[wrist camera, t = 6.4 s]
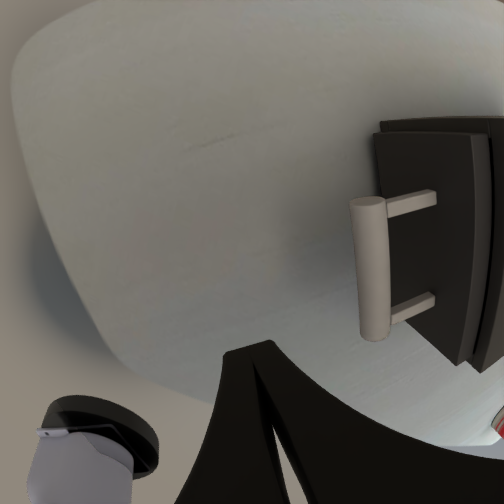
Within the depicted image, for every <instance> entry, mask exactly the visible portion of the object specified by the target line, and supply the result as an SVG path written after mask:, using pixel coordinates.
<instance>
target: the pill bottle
mask: <svg viewBox="0 0 504 504" xmlns="http://www.w3.org/2000/svg"><path fill="white" fill-rule="evenodd" d="M492 427H493V428H494V429H495V431H496V432H497V433H498V434H499V435H500V436H501V437H502V438H503V439H504V407H503V408H502V410H501V411H500V412H499V413H498V414H497V416H496V417H495V419H494V421H493V423H492Z"/></svg>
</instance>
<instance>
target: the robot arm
mask: <svg viewBox="0 0 504 504" xmlns="http://www.w3.org/2000/svg"><path fill="white" fill-rule="evenodd" d="M272 425H273V426H272ZM273 428H274V430H275V432H276V434H277V436H278V439H279V441H280V443H281V445H282V447H283V449H284V451H285V454H286V455H287V458H288V460H289V462H290V464H291V466H292V468H293V470H294V472H295V474H296V476H297V478H298V481H299V483H300V484H301V487H302V489H303V492H304V494H305V496H306V499H307V502H308V504H504V460H500V459H492V458H484V457H479V456H474V455H469V454H464V453H459V452H456V451H452V450H448V449H444V448H441V447H437V446H434V445H432V444H429V443H426V442H423V441H420V440H418V439H415V438H412V437H409V436H407V435H404V434H402V433H399V432H397V431H395V430H392V429H390V428H388V427H386V426H384V425H382V424H380V423H378V422H376V421H374V420H372V419H370V418H368V417H367V416H365V415H363V414H361V413H359V412H358V411H356V410H354V409H353V408H351V407H350V406H348V405H346V404H345V403H343V402H342V401H340V400H339V399H337V398H336V397H335V396H333V395H332V394H330V393H329V392H327V391H326V390H325V389H323V388H322V387H321V386H320V385H318V384H317V383H316V382H315V381H313V380H312V379H311V378H310V377H309V376H307V375H306V374H305V373H304V372H303V371H301V370H300V369H299V368H298V367H297V366H296V365H295V364H294V363H293V362H292V361H291V360H290V359H289V358H288V357H287V356H286V355H285V354H284V353H283V352H282V351H281V350H280V349H279V347H278V346H277V345H276V344H275V342H274V341H272V340H266V341H263V342H259V343H256V344H253V345H249V346H246V347H242V348H239V349H235V350H231V351H228V352H226V353H225V354H224V355H223V364H222V373H221V379H220V384H219V389H218V393H217V397H216V401H215V405H214V409H213V413H212V417H211V419H210V423H209V426H208V429H207V432H206V435H205V438H204V441H203V444H202V446H201V449H200V451H199V454H198V456H197V459H196V461H195V463H194V465H193V468H192V470H191V472H190V474H189V476H188V479H187V480H186V482H185V484H184V486H183V488H182V490H181V492H180V494H179V496H178V498H177V500H176V501H175V503H174V504H290V501H289V497H288V493H287V490H286V486H285V482H284V477H283V473H282V468H281V464H280V459H279V454H278V449H277V445H276V440H275V435H274V431H273ZM36 433H37V434H38V436H39V437H40V440H39V443H38V446H37V449H36V452H35V455H34V458H33V462H32V465H31V468H30V471H29V474H28V478H27V492H28V497H29V500H30V502H31V504H131V494H132V478H133V473H145V472H149V471H150V467H149V466H148V465H147V464H146V463H145V462H144V461H143V460H142V458H141V457H140V456H139V455H138V454H137V453H136V452H135V450H134V449H133V448H132V447H131V446H130V445H129V443H128V442H127V441H126V440H125V439H124V437H123V436H122V435H121V434H120V432H119V431H118V430H117V429H116V427H115V426H114V425H112V424H100V425H89V426H77V427H60V428H37V430H36Z"/></svg>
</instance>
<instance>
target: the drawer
mask: <svg viewBox="0 0 504 504" xmlns="http://www.w3.org/2000/svg"><path fill="white" fill-rule="evenodd" d="M373 137H374V143H375V149H376V155H377V162H378V169H379V177H380V184H381V193H382V197H378V196H367V197H360V198H356V199H353V200H351V201H350V202H349V208H350V216H351V224H352V232H353V241H354V251H355V261H356V273H357V285H358V300H359V319H360V335H361V336H362V338H363V339H365V340H367V341H372V342H375V341H381V340H383V339H385V338H386V337H387V336H388V335H389V333H390V325H394V324H397V323H399V322H401V321H403V320H405V321H406V322H407V323H408V324H409V325H411V326H412V327H413V328H414V329H415V330H416V331H417V332H418V333H420V334H421V335H422V336H423V337H424V338H425V339H426V340H427V341H429V342H430V343H431V344H432V345H433V346H434V347H435V348H436V349H438V350H439V351H440V352H441V353H442V354H443V355H444V356H445V357H446V358H447V359H449V360H450V361H451V362H452V363H453V364H454V365H455V366H458V365H459V364H461V363H462V362H464V361H465V360H467V359H468V358H470V357H471V356H472V353H473V349H474V345H475V341H476V337H477V332H478V327H480V328H481V325H482V320H483V315H484V310H485V305H486V299H487V292H488V286H489V278H490V270H491V261H492V251H493V237H494V212H495V189H494V164H493V151H492V140H491V139H489V138H488V134H486V133H473V132H450V131H389V132H381V133H374V134H373Z"/></svg>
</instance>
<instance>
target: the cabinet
mask: <svg viewBox="0 0 504 504" xmlns="http://www.w3.org/2000/svg"><path fill="white" fill-rule="evenodd" d="M380 125H381V131H382V132H389V131H450V132H473V133H486V134H488V138H489V139H491V140H492V151H493V164H494V189H495V212H494V237H493V251H492V261H491V270H490V278H489V286H488V292H487V299H486V305H485V310H484V315H483V320H482V325H481V328H480V327H478V332H477V337H476V341H475V345H474V349H473V353H472V356H471V357H470V358H468V359H467V360H466V361H467V362H468V363H469V364H470V365H472V367H473V368H474V369H476V370H477V371H478V372H479V373H482V372H483V371H485V370H486V369H487V368H489V367H490V366H491V365H493V364H494V363H495V362H496V361H498V360H499V359H500V358H501V357H503V356H504V116H449V117H427V118H412V119H399V120H388V121H381V122H380Z"/></svg>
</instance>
